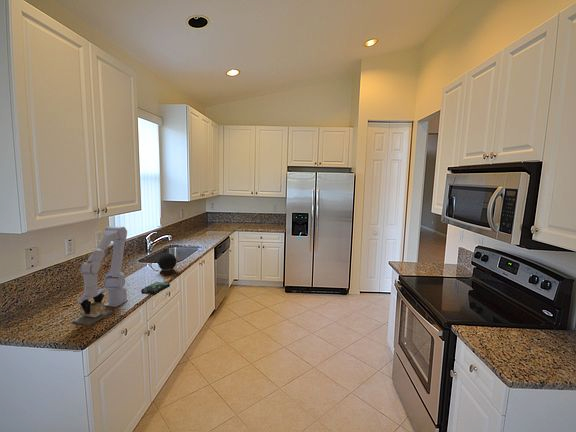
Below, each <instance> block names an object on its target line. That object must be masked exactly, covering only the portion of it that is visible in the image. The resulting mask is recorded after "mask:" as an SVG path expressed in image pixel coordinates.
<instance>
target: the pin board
mask: <svg viewBox="0 0 576 432" xmlns="http://www.w3.org/2000/svg"><path fill="white" fill-rule="evenodd" d="M104 310H105V312H104V313H103V314H101V315H99V316H97V317H89V316H81V315H80V317H78V318H75V319H73V320H72V323H73V324H76V325H77V324H78V325H85V326H91V325H93V324H94V323H96V322H98V321H100V320H101V319H104V318H105V317H106V316H109V315H110V314H112V313H113V310H109V309H108V310H107V309H104Z"/></svg>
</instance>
